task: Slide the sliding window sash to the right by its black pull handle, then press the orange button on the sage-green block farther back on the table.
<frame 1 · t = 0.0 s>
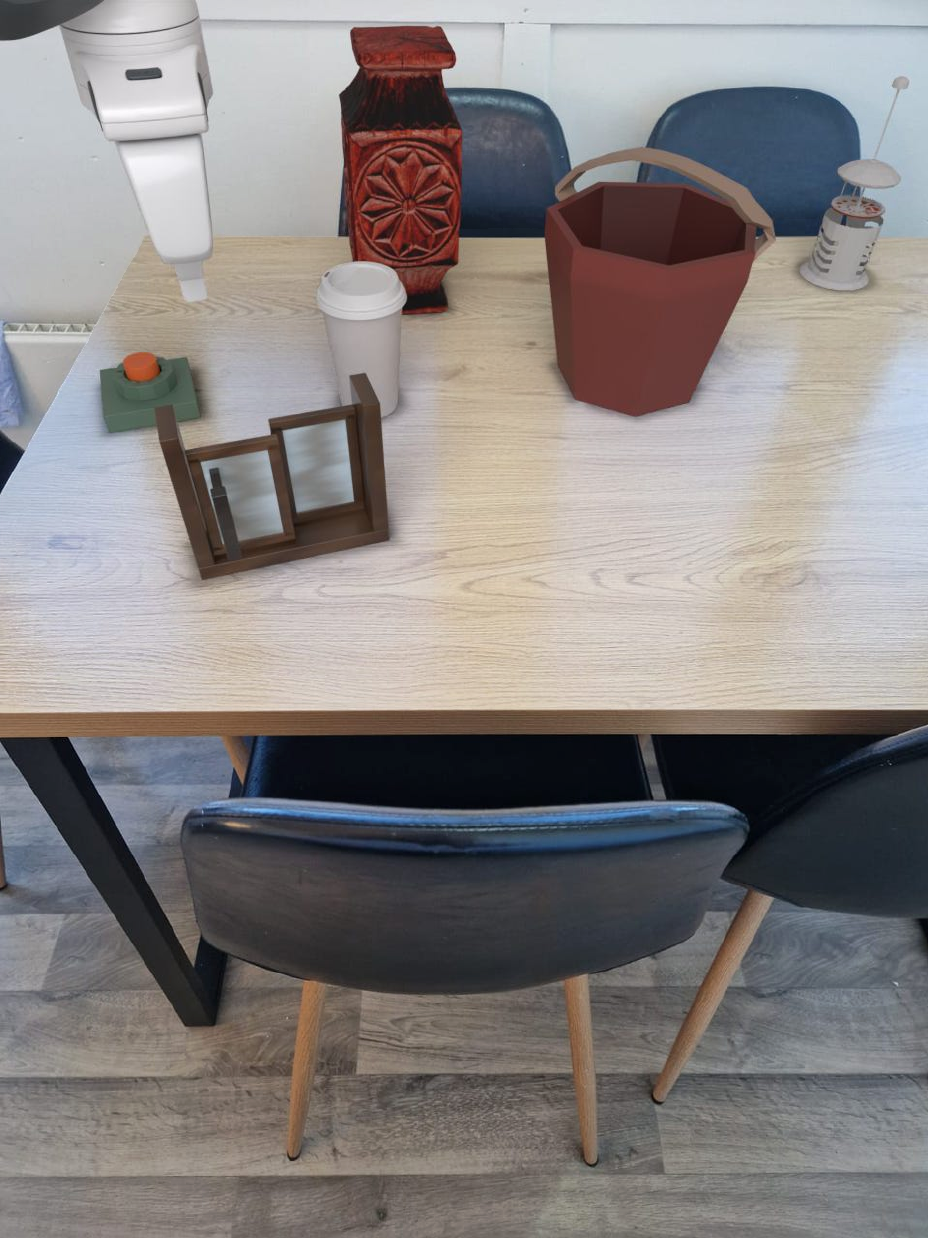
hand: (188, 270, 66), 24 cm above the table, tool pointing down, fingers open, 8 cm apart
french press: (832, 273, 122), on the table
button block: (152, 401, 97), on the table
vase: (404, 298, 115), on the table
bucket: (624, 380, 102), on the table
sliding window sash: (247, 513, 72), point 8 cm above the table, slide at 0.0 cm
coffee cup: (370, 405, 97), on the table
button: (141, 367, 93), point 4 cm above the table, slide at 0.1 cm
window frame: (293, 543, 81), on the table
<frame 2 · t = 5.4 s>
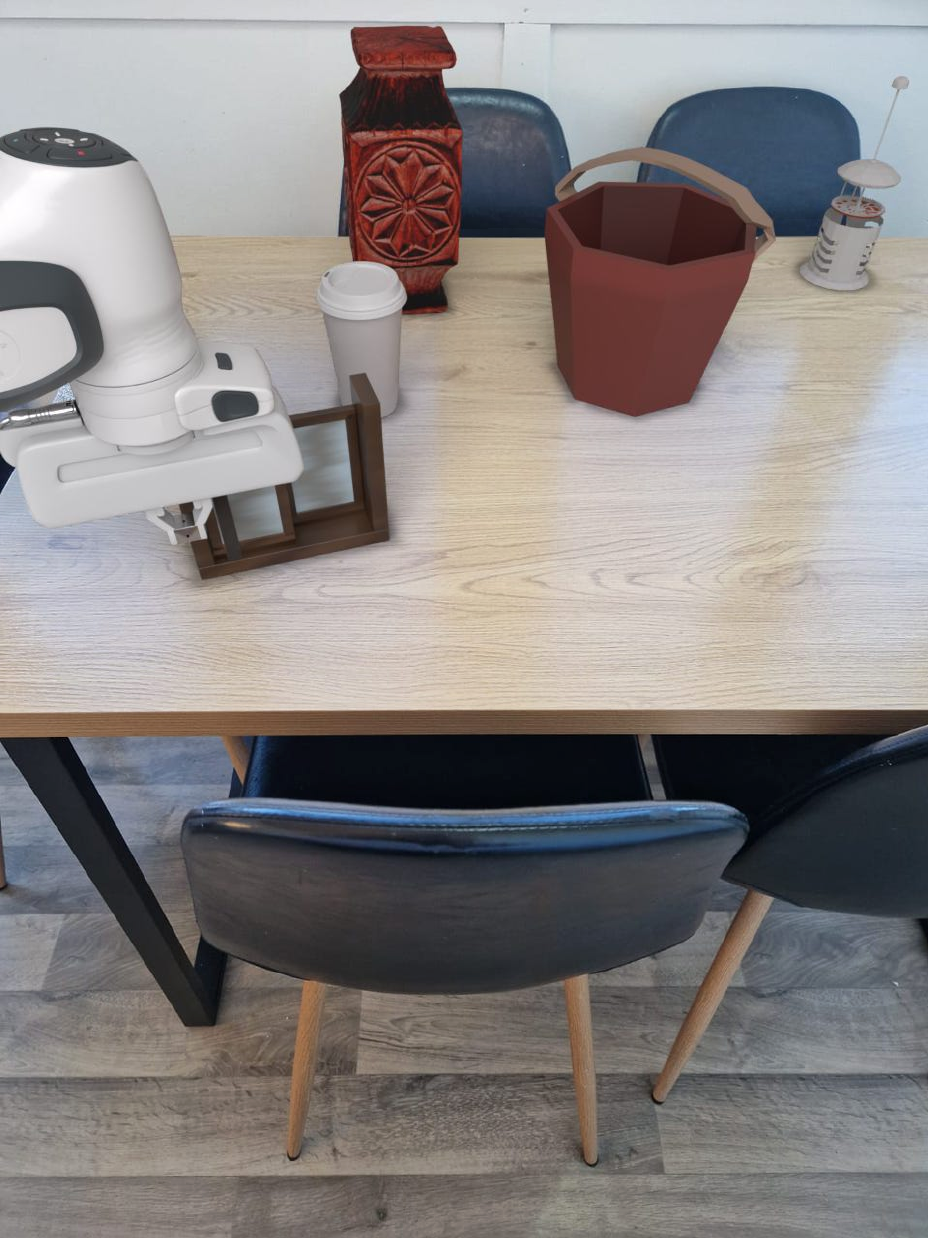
hand: (189, 537, 68), 9 cm above the table, tool pointing down, fingers closed
sliding window sash: (248, 513, 72), point 8 cm above the table, slide at 0.0 cm, touching gripper
everything else where it was.
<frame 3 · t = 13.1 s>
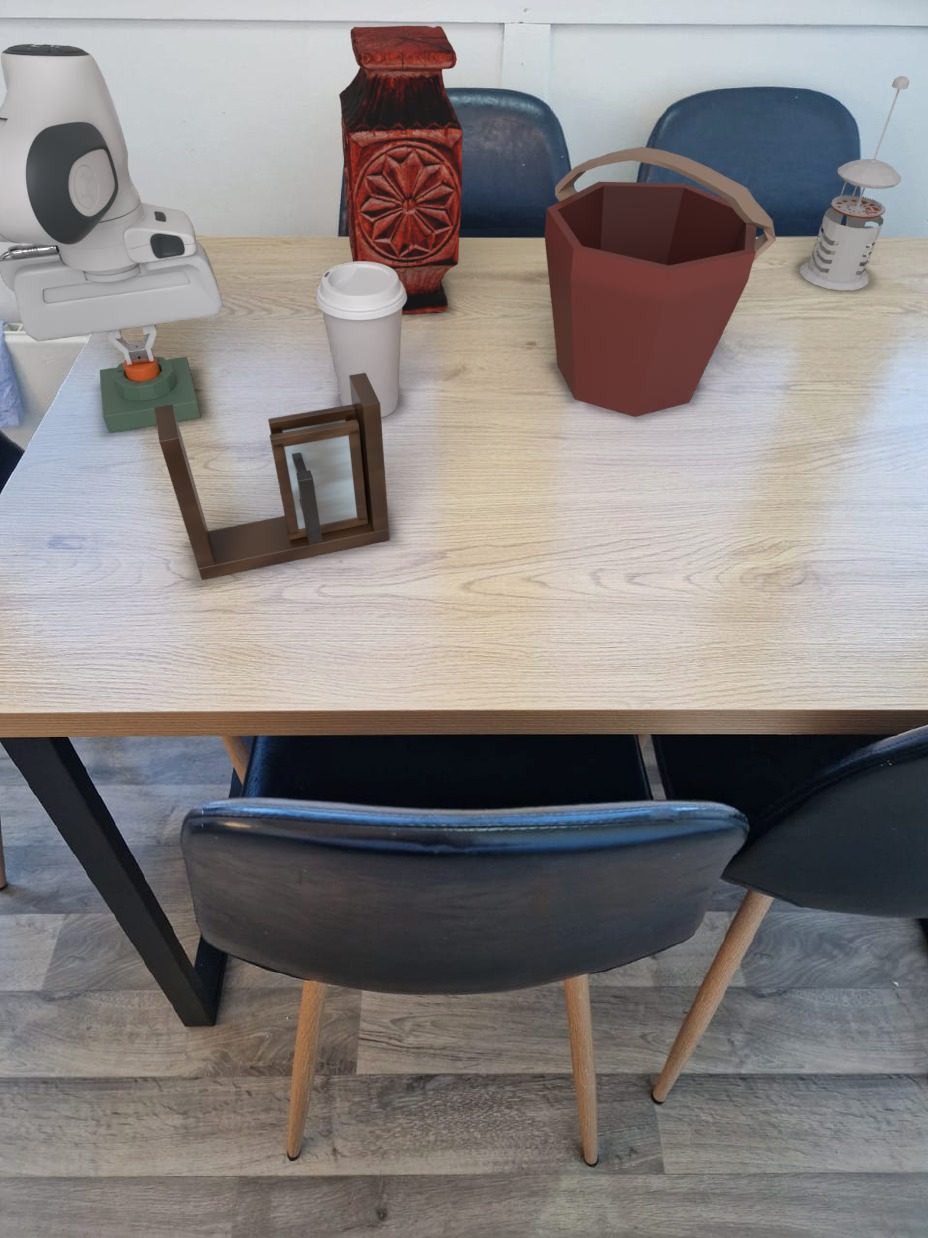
hand: (141, 360, 93), 5 cm above the table, tool pointing down, fingers closed, pressing on button
sliding window sash: (327, 497, 74), point 8 cm above the table, slide at 7.0 cm
button: (141, 368, 94), point 4 cm above the table, slide at -0.1 cm, touching gripper
everything else where it was.
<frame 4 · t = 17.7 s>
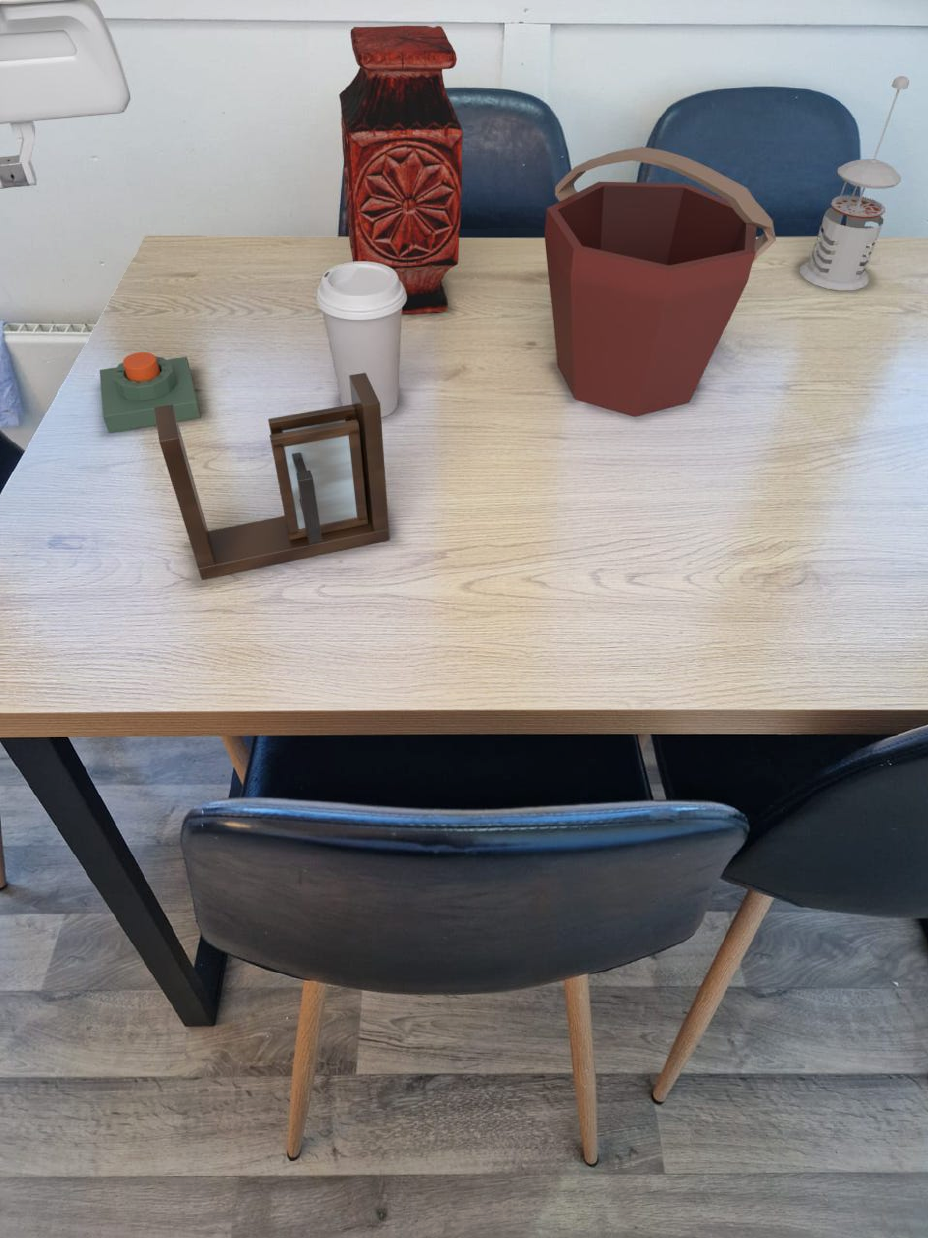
hand: (17, 184, 65), 29 cm above the table, tool pointing down, fingers closed
button: (141, 367, 93), point 4 cm above the table, slide at 0.1 cm
everything else where it was.
at the end: sliding window sash slide at 7.0 cm; button pushed in 1.0 cm at the most during the clip, back to where it started at the end; button slide at 0.1 cm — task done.
